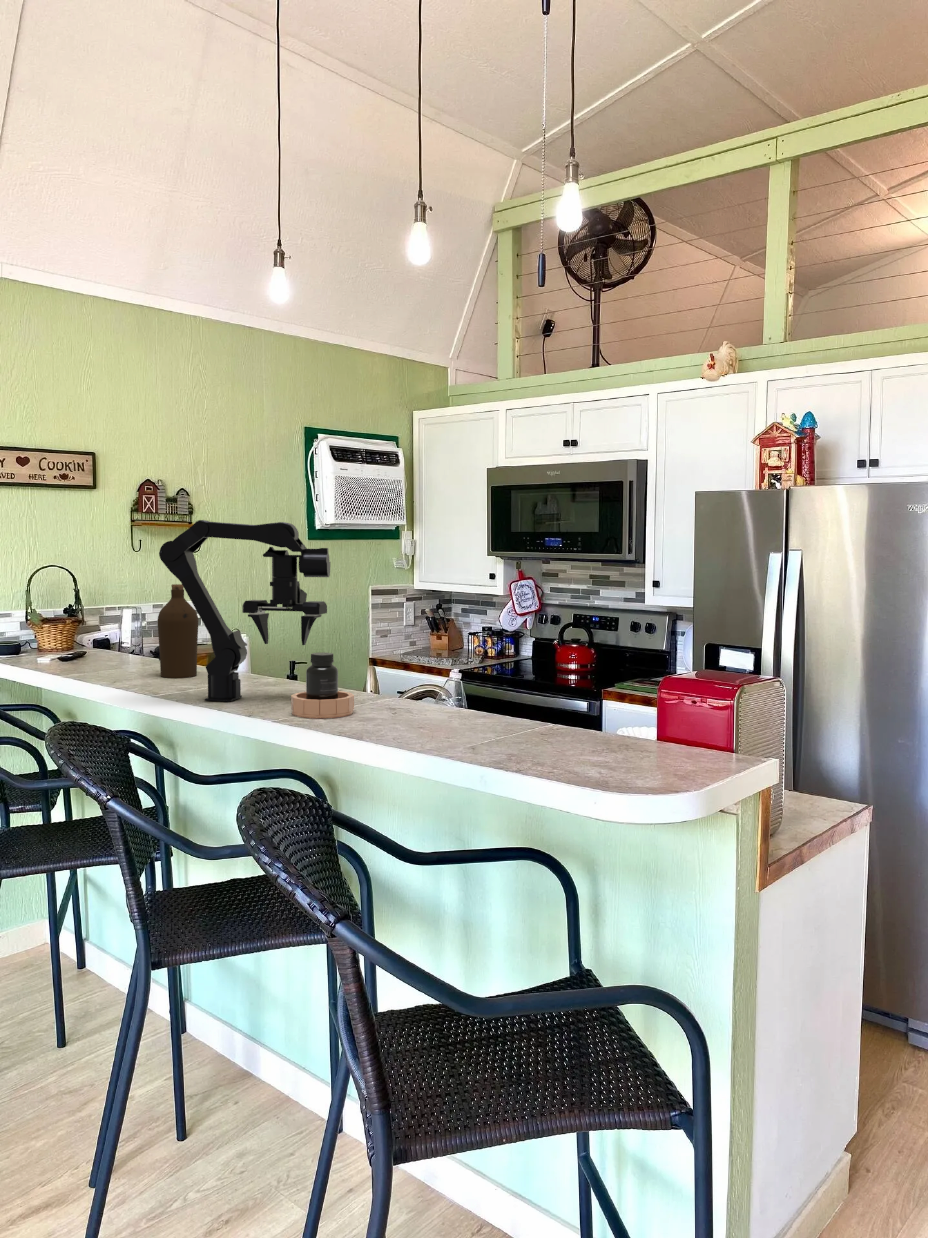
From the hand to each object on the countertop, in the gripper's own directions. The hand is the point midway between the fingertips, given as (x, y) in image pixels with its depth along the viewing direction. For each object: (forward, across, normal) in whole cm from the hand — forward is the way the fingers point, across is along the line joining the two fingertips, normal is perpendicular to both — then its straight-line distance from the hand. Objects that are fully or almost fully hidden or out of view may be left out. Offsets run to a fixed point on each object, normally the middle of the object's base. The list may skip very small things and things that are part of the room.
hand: (285, 644), depth 208 cm
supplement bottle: (+12, -14, +13) cm, 23 cm away
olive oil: (+13, +43, -29) cm, 54 cm away
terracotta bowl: (+13, -14, +13) cm, 23 cm away
